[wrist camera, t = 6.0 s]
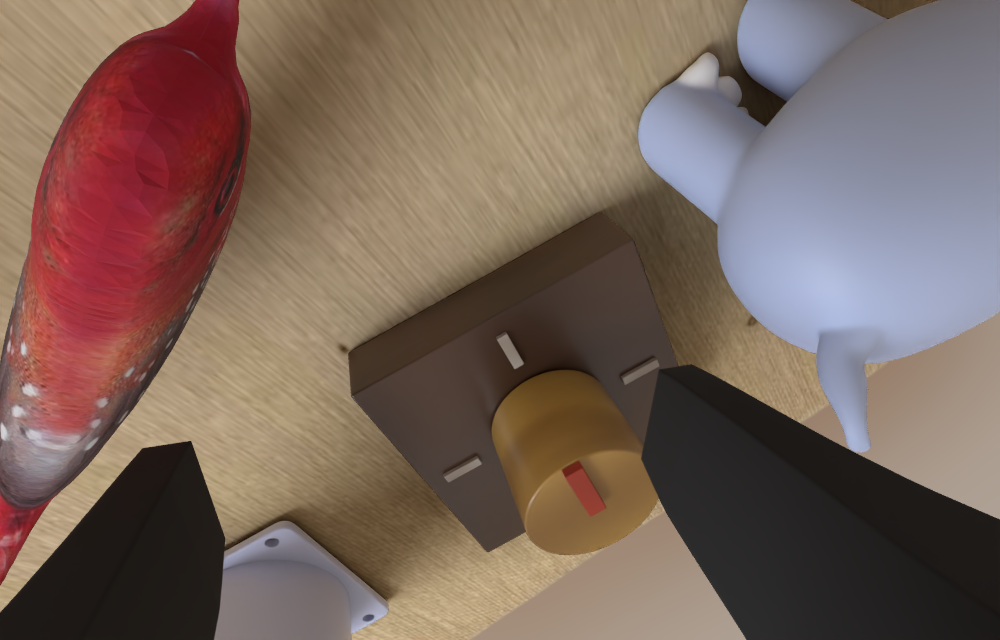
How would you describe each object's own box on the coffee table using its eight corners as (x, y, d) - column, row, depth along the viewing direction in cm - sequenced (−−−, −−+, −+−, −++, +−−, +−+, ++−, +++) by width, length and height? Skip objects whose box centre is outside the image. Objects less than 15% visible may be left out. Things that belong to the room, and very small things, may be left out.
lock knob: (623, 427, 22) (683, 516, 18) (521, 483, 22) (560, 583, 18) (583, 347, 19) (643, 432, 16) (469, 411, 19) (502, 510, 16)
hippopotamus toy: (1033, 69, 21) (1449, 126, 13) (722, 344, 24) (914, 521, 16) (962, -228, 16) (1613, -431, 8) (567, 178, 19) (749, 329, 11)
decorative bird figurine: (331, 10, 15) (343, 60, 6) (95, 489, 20) (-65, 855, 12) (214, -69, 13) (35, -139, 5) (-5, 467, 19) (-268, 866, 10)
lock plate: (473, 506, 25) (488, 557, 23) (346, 352, 20) (350, 400, 18) (672, 397, 25) (705, 438, 23) (600, 210, 20) (636, 240, 17)
